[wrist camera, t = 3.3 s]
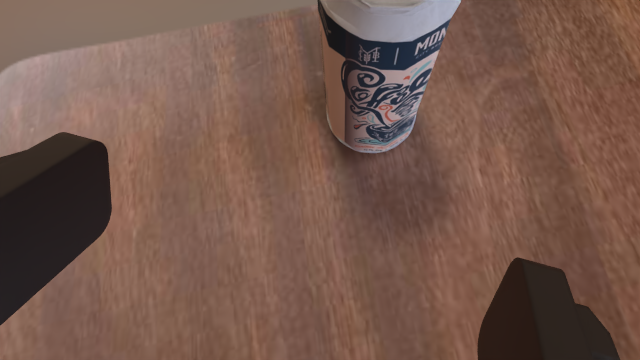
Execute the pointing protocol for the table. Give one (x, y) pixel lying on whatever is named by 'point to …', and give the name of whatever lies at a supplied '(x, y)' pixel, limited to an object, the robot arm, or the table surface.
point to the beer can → (378, 66)
